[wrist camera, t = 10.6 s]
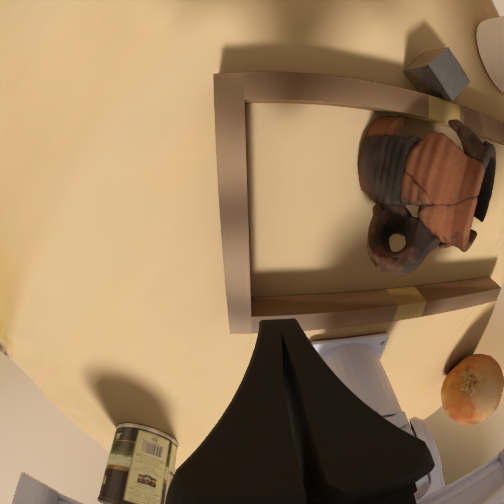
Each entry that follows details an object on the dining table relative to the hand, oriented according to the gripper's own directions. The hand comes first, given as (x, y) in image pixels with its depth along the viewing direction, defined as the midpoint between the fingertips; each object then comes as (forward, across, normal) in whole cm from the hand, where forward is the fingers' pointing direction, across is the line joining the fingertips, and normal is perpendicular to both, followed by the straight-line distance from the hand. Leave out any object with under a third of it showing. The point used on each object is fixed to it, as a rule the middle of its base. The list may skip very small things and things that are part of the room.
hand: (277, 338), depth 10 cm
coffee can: (+10, +18, +33) cm, 39 cm away
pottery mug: (+10, -11, -4) cm, 15 cm away
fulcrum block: (+10, -12, -12) cm, 20 cm away
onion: (+10, -28, +20) cm, 36 cm away
